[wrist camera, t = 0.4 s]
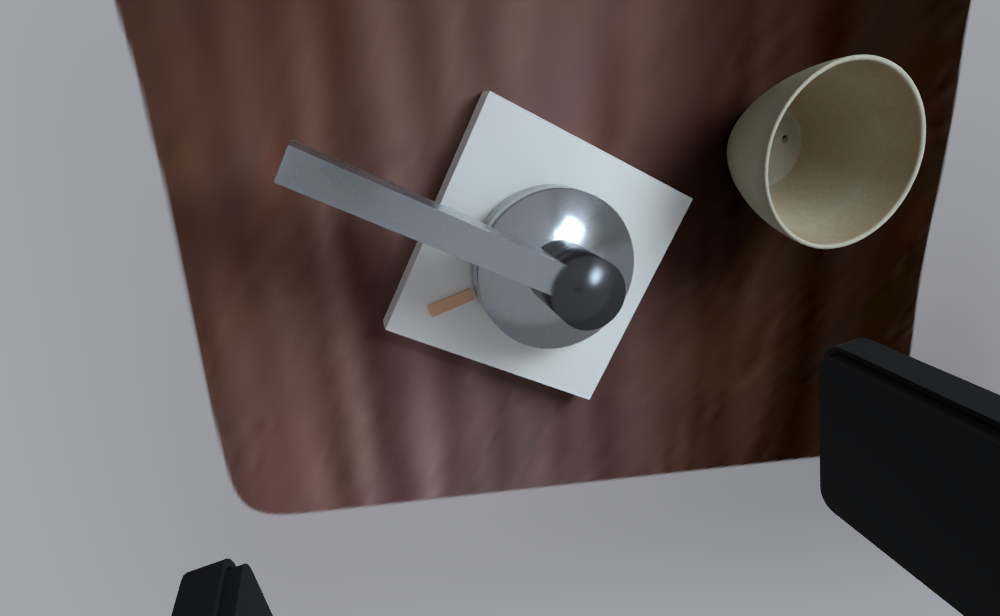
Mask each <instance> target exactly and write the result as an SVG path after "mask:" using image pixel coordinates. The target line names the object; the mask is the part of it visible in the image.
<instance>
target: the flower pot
mask: <svg viewBox="0 0 1000 616" xmlns="http://www.w3.org/2000/svg"><path fill="white" fill-rule="evenodd" d="M784 135H785V137H784V138H782V137H783V136H784ZM925 137H926V121H925V112H924V107H923V103H922V100H921V97H920V94H919V92H918V90H917V87H916V86H915V84H914V82H913V81H912V79H911V78H910V77H909V75H908V74H907V73H906V72H905V71H904V70H903V69H902V68H901V67H899V66H898V65H897V64H895V63H893V62H892V61H890V60H887V59H885V58H882V57H879V56H873V55H853V56H848V57H843V58H838V59H834V60H831V61H827V62H824V63H821V64H818V65H815V66H813V67H810V68H808V69H805V70H803V71H801V72H799V73H797V74H794V75H792V76H791V77H789V78H787V79H785V80H783V81H782V82H780V83H778V84H777V85H775V86H774V87H772V88H771V89H769V90H768V91H767V92H765V93H764V94H763V95H761V96H760V97H759V98H758V99H757V100H756V101H754V102H753V103H752V104H751V105H750V106H749V107H748V108H747V109H746V111H745V112H744V113H743V114H742V115H741V117H740V118H739V119H738V121H737V122H736V124H735V126H734V128H733V130H732V132H731V134H730V137H729V140H728V145H727V161H728V166H729V170H730V173H731V176H732V178H733V181H734V183H735V185H736V187H737V188H738V190H739V192H740V193H741V195H742V196H743V198H744V199H745V200H746V202H747V203H748V204H749V205H750V207H751V208H752V209H753V210H754V211H755V212H756V213H757V214H758V215H759V216H760V217H761V218H762V219H763V220H765V221H766V222H767V223H768V224H770V225H771V226H772V227H774V228H775V229H777V230H778V231H779V232H781V233H783V234H784V235H786V236H788V237H789V238H791V239H793V240H795V241H797V242H799V243H801V244H804V245H806V246H809V247H813V248H819V249H832V248H839V247H843V246H847V245H850V244H853V243H855V242H857V241H859V240H861V239H863V238H865V237H866V236H868V235H869V234H871V233H872V232H874V231H875V230H877V229H878V228H879V227H880V226H882V225H883V224H884V223H885V222H886V221H887V220H888V219H889V218H890V217H891V216H892V214H893V213H894V212H895V211H896V210H897V208H898V207H899V206H900V204H901V203H902V202H903V200H904V199H905V197H906V195H907V194H908V192H909V190H910V188H911V186H912V184H913V182H914V180H915V178H916V175H917V173H918V170H919V167H920V164H921V160H922V158H923V153H924V148H925Z"/></svg>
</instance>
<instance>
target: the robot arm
mask: <svg viewBox="0 0 1000 616" xmlns="http://www.w3.org/2000/svg"><path fill="white" fill-rule="evenodd" d="M819 425H820V487H821V494H822V497H823V499H824V501H825V503H826V504H827V506H828V507H829V508H830V509H831V510H832V511H833V512H834V513H835V514H836V515H838V516H839V517H840V518H841V519H843V520H844V521H845V522H846V523H848V524H849V525H850V526H852V527H853V528H854V529H855V530H857V531H858V532H859V533H860V534H862V535H863V536H864V537H865V538H867V539H868V540H869V541H870V542H872V543H873V544H874V545H875V546H877V547H878V548H879V549H880V550H882V551H883V552H884V553H886V554H887V555H888V556H889V557H891V558H892V559H893V560H894V561H896V562H897V563H898V564H899V565H901V566H902V567H903V568H905V569H906V570H907V571H908V572H910V573H911V574H912V575H913V576H915V577H916V578H917V579H918V580H920V581H921V582H922V583H923V584H925V585H926V586H927V587H928V588H930V589H931V590H932V591H934V592H935V593H936V594H937V595H938V596H940V597H941V598H942V599H944V600H945V601H946V602H947V603H949V604H950V605H951V606H952V607H954V608H955V609H956V610H957V611H959V612H960V613H961V614H963V615H964V616H1000V395H998V394H996V393H993V392H991V391H989V390H986V389H984V388H982V387H979V386H977V385H974V384H972V383H970V382H968V381H965V380H963V379H961V378H958V377H956V376H954V375H951V374H949V373H947V372H944V371H942V370H940V369H937V368H935V367H933V366H930V365H928V364H926V363H923V362H921V361H919V360H916V359H914V358H912V357H909V356H907V355H905V354H902V353H900V352H898V351H895V350H893V349H891V348H888V347H886V346H884V345H881V344H879V343H877V342H874V341H872V340H870V339H866V338H857V339H854V340H852V341H849V342H846V343H843V344H840V345H837V346H834V347H832V348H830V349H828V350H827V351H826V353H825V355H824V360H823V361H821V363H820V365H819ZM172 616H273V615H272V613H271V611H270V609H269V607H268V604H267V602H266V600H265V598H264V596H263V593H262V591H261V589H260V587H259V585H258V583H257V580H256V578H255V576H254V574H253V572H252V570H251V568H250V566H249V565H248V564H243V565H240V566H237V567H236V565H235V564H234V562H233V561H232V560H231V559H225V560H222V561H219V562H216V563H213V564H210V565H208V566H204V567H202V568H199V569H196V570H193V571H190V572H187V573H186V574H185V575H184V576H183V578H182V581H181V584H180V587H179V591H178V594H177V598H176V602H175V605H174V608H173V612H172Z"/></svg>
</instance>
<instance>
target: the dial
mask: <svg viewBox="0 0 1000 616" xmlns="http://www.w3.org/2000/svg"><path fill="white" fill-rule="evenodd" d="M274 183H277V184H279V185H281V186H284V187H286V188H289V189H291V190H294V191H296V192H299V193H301V194H304V195H306V196H308V197H311V198H313V199H316V200H318V201H321V202H323V203H326V204H328V205H330V206H333V207H335V208H338V209H340V210H343V211H345V212H348V213H350V214H353V215H355V216H357V217H360V218H362V219H365V220H367V221H370V222H372V223H375V224H377V225H379V226H382V227H384V228H387V229H389V230H392V231H394V232H397V233H399V234H402V235H404V236H406V237H409V238H411V239H414V240H416V241H419V242H421V243H424V244H426V245H428V246H431V247H433V248H436V249H438V250H441V251H443V252H446V253H448V254H451V255H453V256H455V257H458V258H460V259H463V260H465V261H468V262H470V268H471V280H472V285H473V288H474V292H475V295H476V297H477V299H478V301H479V303H480V305H481V306H482V308H483V309H484V311H485V312H486V313H487V314H488V316H489V317H490V318H491V320H492V321H493V322H494V323H495V324H496V326H497V327H498V328H499V329H500V330H501V331H502V332H504V333H505V334H506V335H507V336H509V337H510V338H512V339H513V340H515V341H517V342H519V343H521V344H524V345H527V346H531V347H535V348H542V349H554V348H562V347H567V346H571V345H574V344H576V343H579V342H581V341H583V340H585V339H587V338H589V337H591V336H592V335H594V334H595V333H597V332H598V331H599V330H600V329H602V328H603V327H604V326H605V325H606V324H608V323H609V322H610V321H612V320H613V319H614V318H615V317H616V315H617V314H618V313H619V311H620V309H621V308H622V305H623V303H624V300H625V297H626V295H627V293H628V291H629V287H630V284H631V281H632V276H633V270H634V251H633V245H632V240H631V237H630V234H629V231H628V229H627V227H626V225H625V223H624V222H623V220H622V219H621V217H620V216H619V214H618V213H617V212H616V211H615V210H614V209H613V208H612V207H611V206H610V205H609V204H607V203H606V202H605V201H603V200H602V199H600V198H598V197H597V196H595V195H592V194H590V193H587V192H584V191H582V190H579V189H576V188H573V187H569V186H565V185H558V184H543V185H537V186H532V187H529V188H526V189H523V190H521V191H519V192H517V193H515V194H513V195H512V196H510V197H508V198H507V199H505V200H504V201H503V202H502V203H501V204H499V205H498V206H497V207H496V208H495V209H494V210H493V211H492V212H491V214H490V215H489V216H488V217H487V219H486V220H485V222H484V223H483V222H480V221H478V220H476V219H474V218H471V217H469V216H467V215H464V214H462V213H460V212H458V211H455V210H453V209H451V208H449V207H446V206H444V205H442V204H439V203H437V202H435V201H433V200H430V199H428V198H426V197H423V196H421V195H419V194H417V193H414V192H412V191H410V190H408V189H405V188H403V187H401V186H398V185H396V184H394V183H392V182H389V181H387V180H385V179H382V178H380V177H378V176H376V175H373V174H371V173H369V172H367V171H364V170H362V169H360V168H357V167H355V166H353V165H351V164H348V163H346V162H344V161H341V160H339V159H337V158H335V157H332V156H330V155H328V154H325V153H323V152H321V151H319V150H316V149H314V148H312V147H310V146H307V145H305V144H303V143H300V142H298V141H296V140H294V139H291V141H290V143H289V144H288V147H287V149H286V152H285V154H284V157H283V160H282V162H281V165H280V168H279V170H278V173H277V175H276V178H275V181H274Z"/></svg>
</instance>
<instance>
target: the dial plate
mask: <svg viewBox="0 0 1000 616" xmlns="http://www.w3.org/2000/svg"><path fill="white" fill-rule="evenodd" d="M543 184H558V185H565V186H569V187H573V188H576V189H579V190H582V191H584V192H587V193H590V194H592V195H595V196H597V197H598V198H600V199H602V200H603V201H605V202H606V203H607V204H609V205H610V206H611V207H612V208H613V209H614V210H615V211H616V212H617V213H618V214H619V216H620V217H621V219H622V220H623V222H624V223H625V225H626V227H627V229H628V231H629V234H630V237H631V240H632V245H633V251H634V270H633V276H632V281H631V284H630V287H629V291H628V293H627V295H626V297H625V300H624V303H623V305H622V308H621V309H620V311H619V313H618V314H617V315H616V317H615V318H614V319H613V320H612V321H610V322H609V323H608V324H606V325H605V326H604V327H603V328H602V329H600V330H599V331H598V332H597V333H595V334H594V335H592V336H591V337H589V338H587V339H585V340H583V341H581V342H579V343H576V344H574V345H571V346H567V347H562V348H554V349H542V348H535V347H531V346H527V345H524V344H521V343H519V342H517V341H515V340H513V339H512V338H510V337H509V336H507V335H506V334H505V333H504V332H502V331H501V330H500V329H499V328H498V327H497V326H496V324H495V323H494V322H493V321H492V320H491V318H490V317H489V316H488V314H487V313H486V312H485V311H484V309H483V308H482V306H481V305H480V303H479V301H478V299H477V297H476V295H475V292H474V288H473V285H472V280H471V268H470V262H468V261H465V260H463V259H460V258H458V257H455V256H453V255H451V254H448V253H446V252H443V251H441V250H438V249H436V248H433V247H431V246H428V245H426V244H424V243H421V242H419V241H417V243H416V246H415V248H414V250H413V252H412V255H411V257H410V259H409V262H408V264H407V266H406V269H405V271H404V273H403V275H402V278H401V280H400V282H399V285H398V287H397V289H396V292H395V294H394V296H393V299H392V301H391V303H390V305H389V308H388V310H387V312H386V315H385V317H384V319H383V324H384V327H385V330H387V331H390V332H393V333H396V334H399V335H402V336H405V337H408V338H411V339H413V340H416V341H419V342H422V343H425V344H428V345H431V346H434V347H437V348H440V349H443V350H445V351H448V352H451V353H454V354H457V355H460V356H463V357H466V358H469V359H472V360H475V361H478V362H480V363H483V364H486V365H489V366H492V367H495V368H498V369H501V370H504V371H507V372H510V373H513V374H515V375H518V376H521V377H524V378H527V379H530V380H533V381H536V382H539V383H542V384H545V385H547V386H550V387H553V388H556V389H559V390H562V391H565V392H568V393H571V394H574V395H577V396H580V397H582V398H585V399H588V400H590V398H591V396H592V394H593V392H594V390H595V388H596V386H597V384H598V382H599V380H600V378H601V376H602V375H603V373H604V371H605V369H606V367H607V365H608V363H609V361H610V359H611V357H612V355H613V353H614V351H615V349H616V347H617V345H618V343H619V342H620V340H621V338H622V336H623V334H624V332H625V330H626V328H627V326H628V324H629V322H630V320H631V318H632V316H633V314H634V312H635V310H636V309H637V307H638V305H639V303H640V301H641V299H642V297H643V295H644V293H645V291H646V289H647V287H648V285H649V283H650V281H651V279H652V277H653V275H654V274H655V272H656V270H657V268H658V266H659V264H660V262H661V260H662V258H663V256H664V254H665V252H666V250H667V248H668V246H669V244H670V242H671V241H672V239H673V237H674V235H675V233H676V231H677V229H678V227H679V225H680V223H681V221H682V219H683V217H684V215H685V213H686V211H687V209H688V208H689V206H690V204H691V202H692V200H693V199H692V198H691V197H689V196H687V195H685V194H683V193H681V192H679V191H677V190H676V189H674V188H672V187H670V186H668V185H666V184H664V183H662V182H660V181H659V180H657V179H655V178H653V177H651V176H649V175H647V174H645V173H643V172H642V171H640V170H638V169H636V168H634V167H632V166H630V165H628V164H627V163H625V162H623V161H621V160H619V159H617V158H615V157H613V156H611V155H610V154H608V153H606V152H604V151H602V150H600V149H598V148H596V147H595V146H593V145H591V144H589V143H587V142H585V141H583V140H581V139H579V138H578V137H576V136H574V135H572V134H570V133H568V132H566V131H564V130H562V129H561V128H559V127H557V126H555V125H553V124H551V123H549V122H547V121H546V120H544V119H542V118H540V117H538V116H536V115H534V114H532V113H530V112H529V111H527V110H525V109H523V108H521V107H519V106H517V105H515V104H514V103H512V102H510V101H508V100H506V99H504V98H502V97H500V96H498V95H497V94H495V93H493V92H491V91H482V94H481V96H480V98H479V101H478V103H477V105H476V107H475V110H474V112H473V114H472V117H471V119H470V121H469V124H468V126H467V128H466V131H465V133H464V135H463V137H462V140H461V142H460V144H459V147H458V149H457V151H456V154H455V156H454V158H453V160H452V163H451V165H450V167H449V170H448V172H447V174H446V177H445V179H444V181H443V183H442V186H441V188H440V190H439V193H438V195H437V197H436V200H435V202H437V203H439V204H442V205H444V206H446V207H449V208H451V209H453V210H455V211H458V212H460V213H462V214H464V215H467V216H469V217H471V218H474V219H476V220H478V221H480V222H483V223H484V222H485V220H486V219H487V217H488V216H489V215H490V214H491V212H492V211H493V210H494V209H495V208H496V207H497V206H498V205H499V204H501V203H502V202H503V201H504V200H505V199H507V198H508V197H510V196H512V195H513V194H515V193H517V192H519V191H521V190H523V189H526V188H529V187H532V186H537V185H543Z"/></svg>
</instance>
